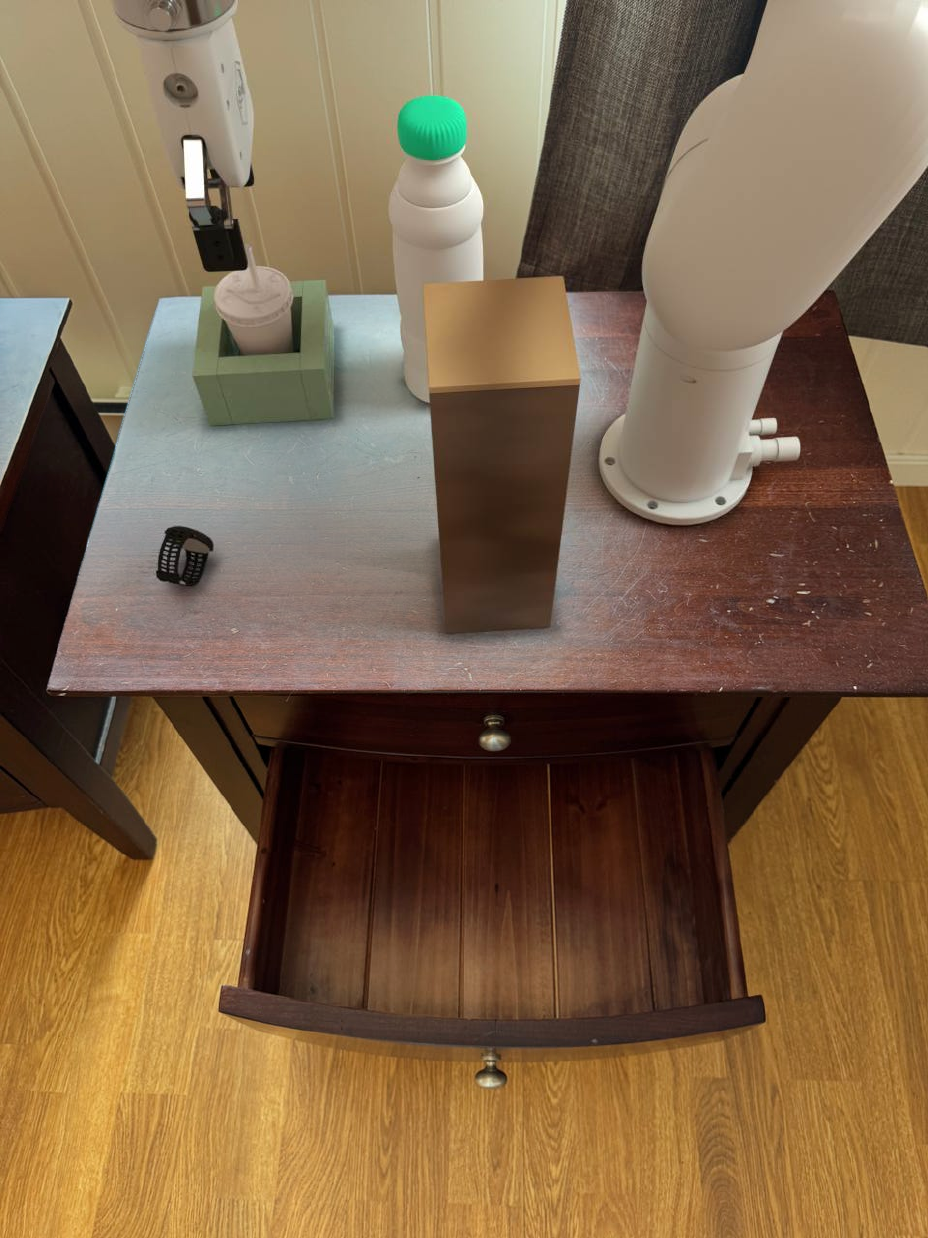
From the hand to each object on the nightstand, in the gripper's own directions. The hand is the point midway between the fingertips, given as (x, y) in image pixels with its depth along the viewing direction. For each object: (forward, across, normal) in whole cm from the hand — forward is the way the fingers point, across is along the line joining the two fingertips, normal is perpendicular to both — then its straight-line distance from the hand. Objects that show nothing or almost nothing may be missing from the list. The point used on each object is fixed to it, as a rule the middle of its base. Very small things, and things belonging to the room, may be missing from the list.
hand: (230, 225), depth 72 cm
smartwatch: (+16, -21, +5) cm, 27 cm away
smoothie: (+16, 0, -1) cm, 16 cm away
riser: (+15, -24, -19) cm, 34 cm away
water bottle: (+16, -2, -16) cm, 22 cm away
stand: (+16, 0, -1) cm, 16 cm away
